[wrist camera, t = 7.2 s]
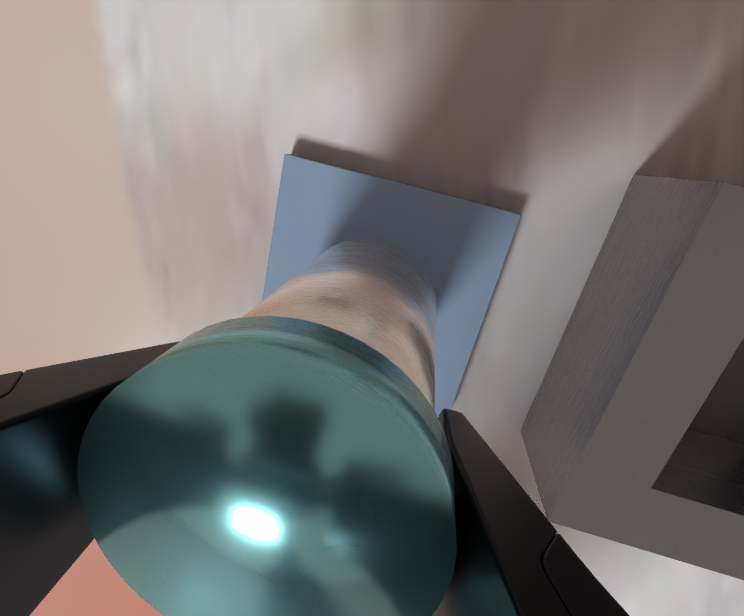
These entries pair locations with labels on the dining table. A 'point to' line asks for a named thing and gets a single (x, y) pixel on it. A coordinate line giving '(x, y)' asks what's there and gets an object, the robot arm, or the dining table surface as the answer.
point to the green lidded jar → (285, 454)
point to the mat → (404, 229)
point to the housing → (650, 381)
